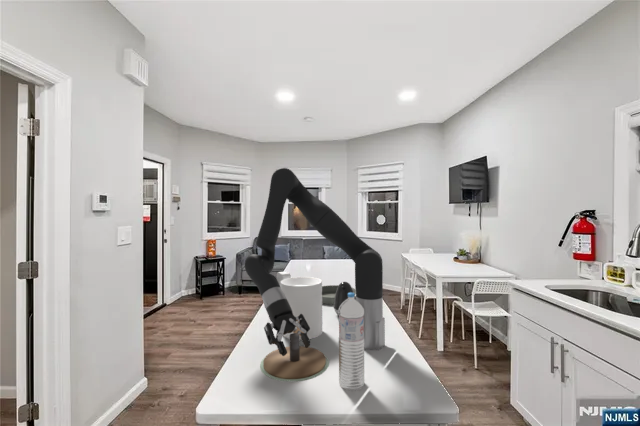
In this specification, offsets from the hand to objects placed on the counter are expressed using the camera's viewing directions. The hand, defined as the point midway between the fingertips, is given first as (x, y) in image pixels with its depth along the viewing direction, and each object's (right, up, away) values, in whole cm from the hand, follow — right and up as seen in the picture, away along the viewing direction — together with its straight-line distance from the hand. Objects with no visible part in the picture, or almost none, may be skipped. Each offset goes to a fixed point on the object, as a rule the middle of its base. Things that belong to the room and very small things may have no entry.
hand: (296, 350), depth 95 cm
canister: (0, -5, +26) cm, 26 cm away
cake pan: (+15, -5, +73) cm, 75 cm away
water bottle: (+16, -5, -11) cm, 20 cm away
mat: (-1, -5, +1) cm, 5 cm away
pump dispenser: (+18, -4, +46) cm, 49 cm away
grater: (-9, -5, +43) cm, 44 cm away
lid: (-1, -4, +1) cm, 4 cm away
